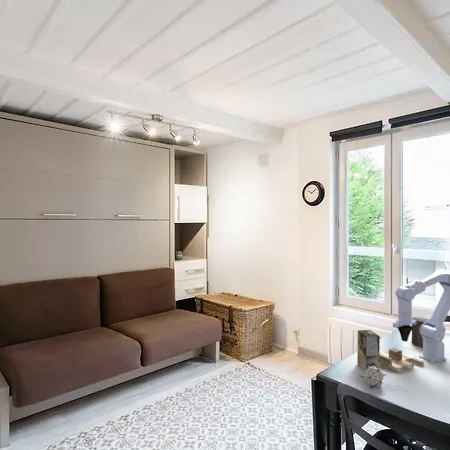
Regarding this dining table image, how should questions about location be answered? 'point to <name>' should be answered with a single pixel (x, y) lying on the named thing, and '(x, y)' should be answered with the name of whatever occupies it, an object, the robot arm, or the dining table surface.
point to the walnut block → (395, 354)
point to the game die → (373, 376)
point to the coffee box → (368, 349)
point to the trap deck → (398, 362)
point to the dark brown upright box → (417, 331)
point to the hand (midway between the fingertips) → (404, 340)
